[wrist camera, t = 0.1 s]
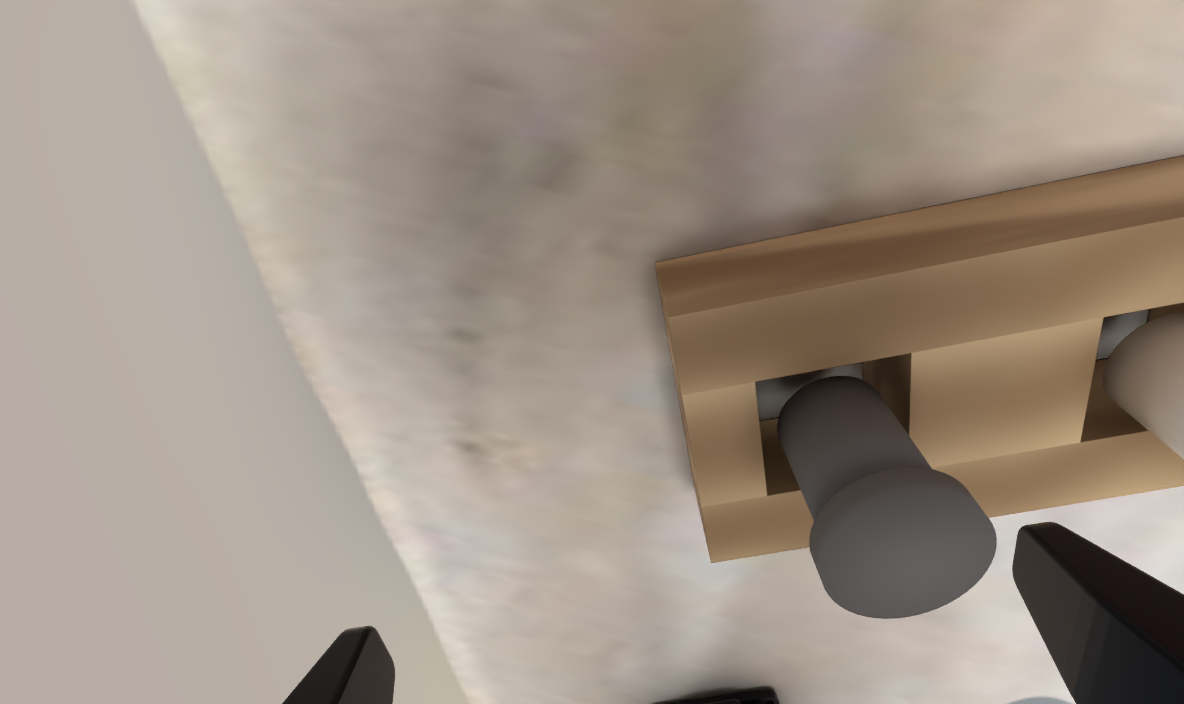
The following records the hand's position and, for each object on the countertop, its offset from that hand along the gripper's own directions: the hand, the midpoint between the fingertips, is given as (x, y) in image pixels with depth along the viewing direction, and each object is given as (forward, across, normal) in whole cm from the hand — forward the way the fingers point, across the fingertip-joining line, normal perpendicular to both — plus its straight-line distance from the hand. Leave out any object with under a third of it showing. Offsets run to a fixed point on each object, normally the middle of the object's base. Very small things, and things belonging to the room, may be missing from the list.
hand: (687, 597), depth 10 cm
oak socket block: (+15, -10, +6) cm, 19 cm away
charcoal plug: (+11, -5, +6) cm, 14 cm away
